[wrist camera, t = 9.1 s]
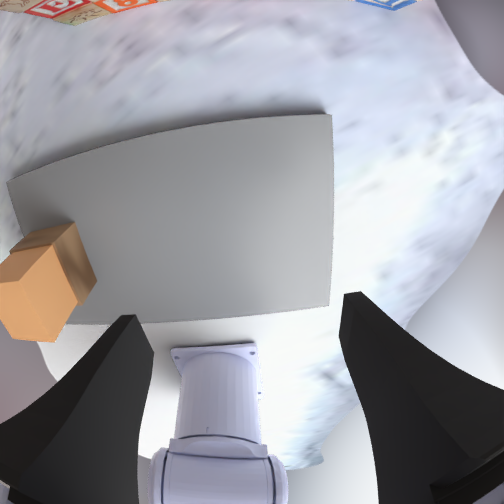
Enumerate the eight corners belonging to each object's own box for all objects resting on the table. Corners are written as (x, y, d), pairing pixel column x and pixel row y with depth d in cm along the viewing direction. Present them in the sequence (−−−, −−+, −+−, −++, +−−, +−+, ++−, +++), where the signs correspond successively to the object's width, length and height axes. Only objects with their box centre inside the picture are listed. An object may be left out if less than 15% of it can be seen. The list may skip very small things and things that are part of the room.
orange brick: (77, 301, 17) (54, 342, 13) (36, 303, 17) (13, 338, 13) (52, 244, 15) (18, 281, 11) (12, 252, 15) (-20, 284, 11)
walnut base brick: (97, 280, 20) (82, 305, 17) (52, 284, 20) (36, 306, 17) (74, 222, 17) (53, 242, 14) (30, 232, 17) (9, 251, 15)
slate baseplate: (325, 297, 22) (329, 305, 22) (70, 317, 23) (66, 324, 22) (326, 113, 15) (331, 114, 15) (13, 178, 16) (6, 182, 15)
